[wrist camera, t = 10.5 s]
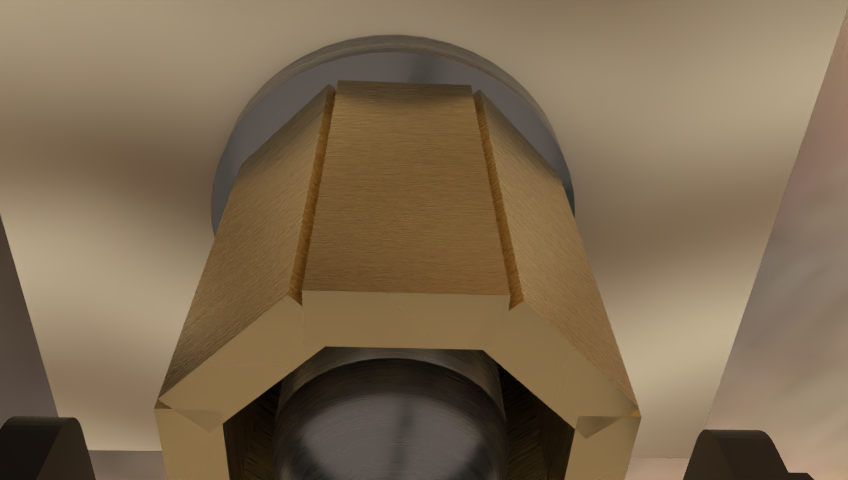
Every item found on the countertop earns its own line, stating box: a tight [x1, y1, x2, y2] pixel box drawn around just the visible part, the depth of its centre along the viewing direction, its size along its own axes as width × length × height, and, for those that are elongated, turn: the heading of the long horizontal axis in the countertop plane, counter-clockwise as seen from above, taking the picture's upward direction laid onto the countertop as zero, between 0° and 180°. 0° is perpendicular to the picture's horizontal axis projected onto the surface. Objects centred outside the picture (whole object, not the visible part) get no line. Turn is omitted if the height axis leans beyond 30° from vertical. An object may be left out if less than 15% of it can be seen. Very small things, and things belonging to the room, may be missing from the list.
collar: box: [154, 80, 642, 480], centre depth 13 cm, size 6×6×6 cm
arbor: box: [211, 35, 575, 480], centre depth 13 cm, size 7×7×8 cm
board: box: [0, 0, 848, 458], centre depth 17 cm, size 15×16×2 cm
